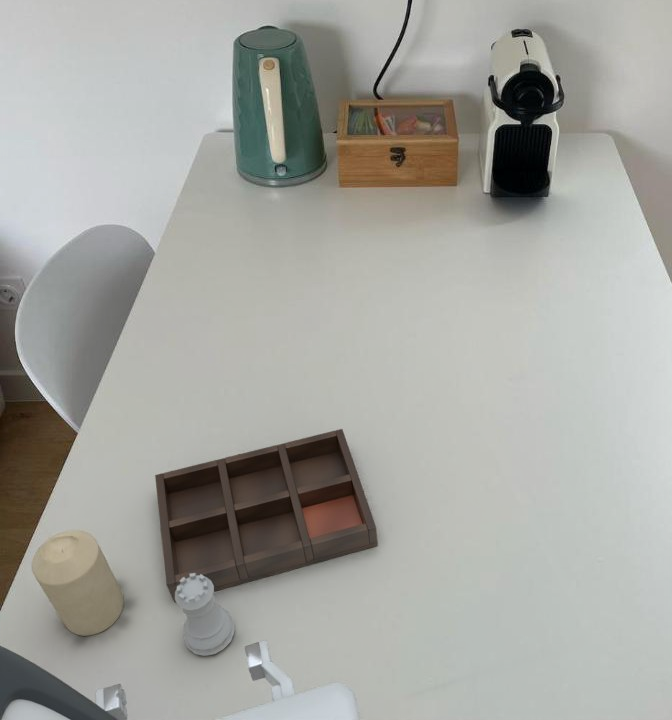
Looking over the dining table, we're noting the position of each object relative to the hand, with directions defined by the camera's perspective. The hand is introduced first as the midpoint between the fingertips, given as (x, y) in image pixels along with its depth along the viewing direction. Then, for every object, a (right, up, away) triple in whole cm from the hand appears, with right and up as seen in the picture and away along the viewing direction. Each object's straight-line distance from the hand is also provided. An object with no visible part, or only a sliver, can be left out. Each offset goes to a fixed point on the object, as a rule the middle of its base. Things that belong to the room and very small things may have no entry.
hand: (185, 668), depth 53 cm
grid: (0, +4, +29) cm, 30 cm away
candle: (-14, -3, +22) cm, 27 cm away
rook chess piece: (-3, -5, +20) cm, 21 cm away
